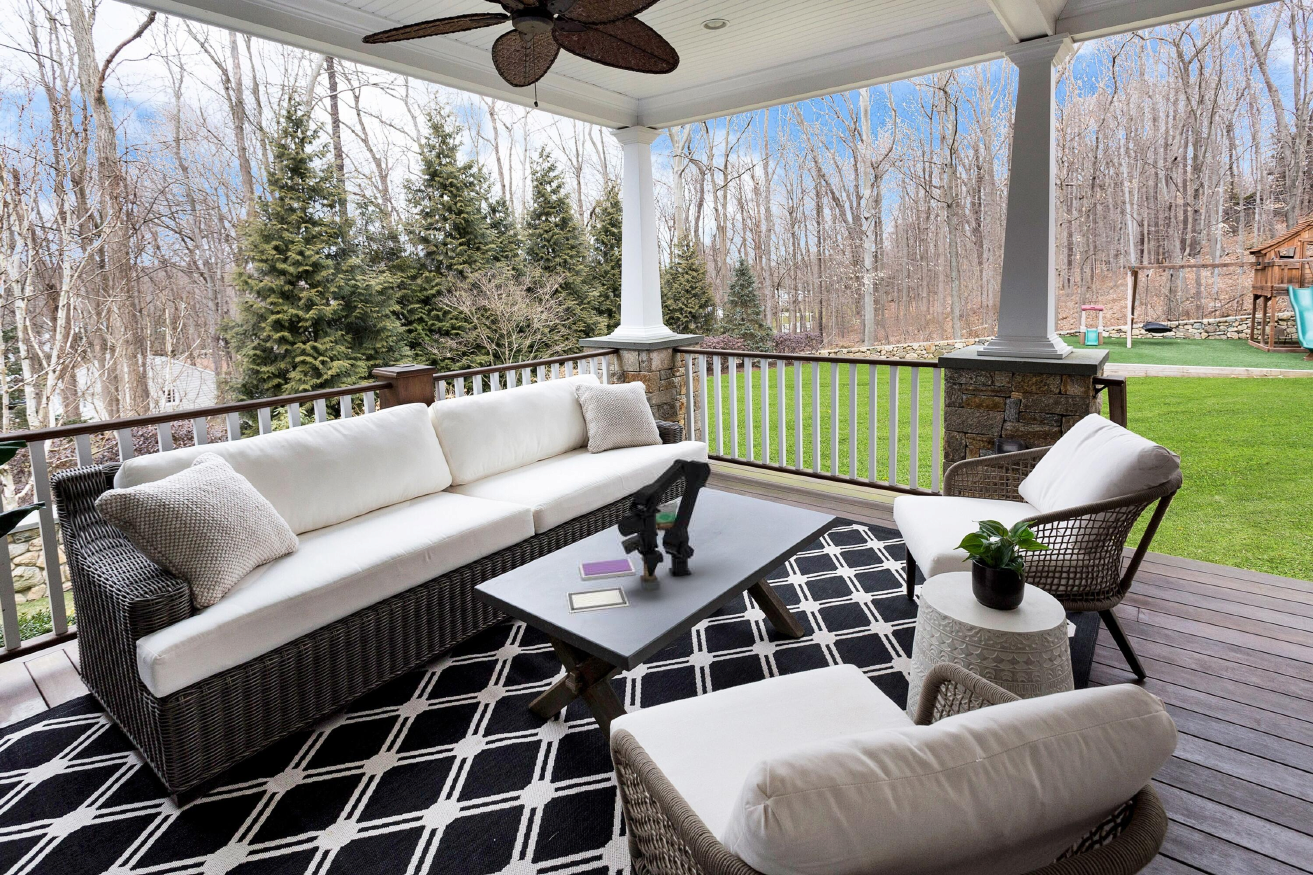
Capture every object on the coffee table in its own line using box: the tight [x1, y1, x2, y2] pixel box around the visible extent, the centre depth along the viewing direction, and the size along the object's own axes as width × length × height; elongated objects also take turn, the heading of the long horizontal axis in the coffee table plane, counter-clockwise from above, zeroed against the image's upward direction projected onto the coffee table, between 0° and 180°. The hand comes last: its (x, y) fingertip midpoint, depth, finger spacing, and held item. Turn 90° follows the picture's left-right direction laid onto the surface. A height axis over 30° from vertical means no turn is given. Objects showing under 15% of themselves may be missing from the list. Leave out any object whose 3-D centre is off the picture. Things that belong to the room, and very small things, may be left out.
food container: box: [656, 500, 679, 531], centre depth 278 cm, size 12×6×10 cm, turn 112°
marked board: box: [566, 586, 630, 614], centre depth 215 cm, size 14×18×1 cm
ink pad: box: [578, 558, 636, 582], centre depth 238 cm, size 12×18×2 cm, turn 101°
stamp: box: [639, 562, 660, 592], centre depth 224 cm, size 7×5×9 cm
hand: (649, 574), depth 224 cm, fingers open, 4 cm apart
